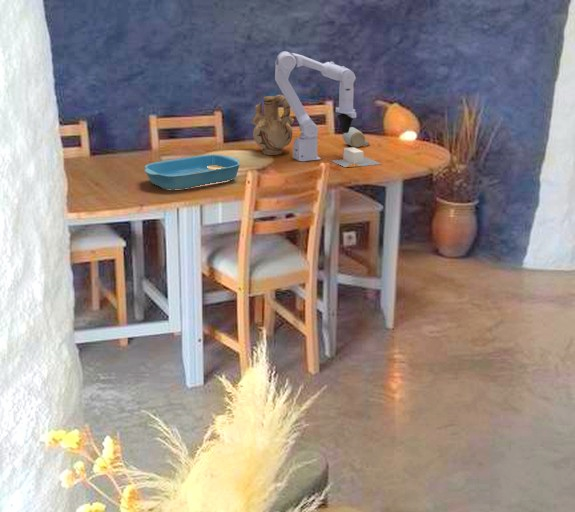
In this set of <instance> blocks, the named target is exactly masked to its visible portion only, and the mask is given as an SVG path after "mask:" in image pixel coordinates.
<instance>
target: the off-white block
mask: <svg viewBox="0 0 575 512" xmlns="http://www.w3.org/2000/svg"><path fill="white" fill-rule="evenodd" d="M342 151H343V152H342V154H343V155H342V160H343V159H344V160H346V161H349V162H351V163H353V164H356V163H363V161H364V157H365V156H364V155H365V152H364V150H361V149H359V148H356V147H352V146H351V147H343V149H342Z"/></svg>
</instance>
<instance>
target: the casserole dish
mask: <svg viewBox="0 0 575 512" xmlns="http://www.w3.org/2000/svg"><path fill="white" fill-rule="evenodd" d="M209 165H218V166H222V167H226V168H221V169H216V170H210V171H209V169H208V168H207V166H209ZM240 166H241V163H240V161H239V159H238V158H236V157H235V156H234V157H233V156H229V155H222V154H202V155H195V156H189V157H183V158H174V159H169V160H167V159H166V160H162V161H155V162H152V163H151V162H150V163H148V164H146V165H145V166H144V168H145V169H144V173H145V174H146V175H147V176H148V179H149V181H150V182H151V183H152V184H153V185H154V184H155V186H156V185H158V186H160V187H162V188H161V189H163V188H164V189H163V190H165V189H171V190H175V189H185V188H191V187H195V186H200V185H205V184H210V183H216V182H222V181H227V180H231V179H233V180H234V179H235V178H236V176H237V175H238V171H239V168H240ZM200 171H205V172H200ZM194 172H199V173H194ZM190 173H193V174H190ZM158 186H157V187H158ZM160 187H159V188H160Z"/></svg>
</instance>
